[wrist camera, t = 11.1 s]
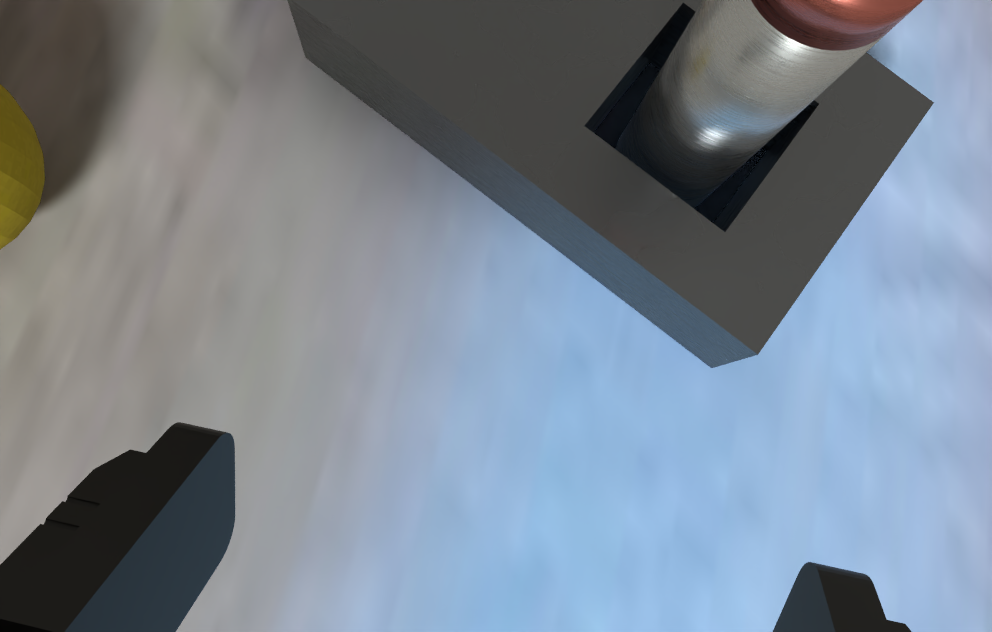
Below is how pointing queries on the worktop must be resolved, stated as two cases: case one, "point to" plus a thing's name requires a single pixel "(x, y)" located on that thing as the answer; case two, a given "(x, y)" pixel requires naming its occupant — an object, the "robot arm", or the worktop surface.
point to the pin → (745, 83)
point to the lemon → (18, 169)
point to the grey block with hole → (602, 169)
